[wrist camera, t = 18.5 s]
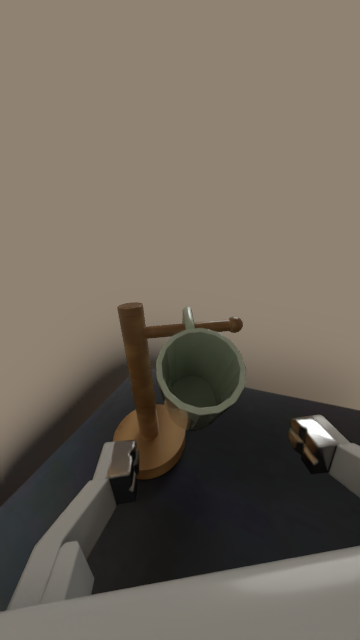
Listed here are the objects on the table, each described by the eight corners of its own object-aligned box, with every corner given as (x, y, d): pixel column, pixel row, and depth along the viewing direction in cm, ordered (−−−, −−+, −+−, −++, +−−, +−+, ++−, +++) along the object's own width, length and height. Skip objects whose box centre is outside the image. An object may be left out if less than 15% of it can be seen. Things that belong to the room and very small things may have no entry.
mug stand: (105, 485, 19) (57, 326, 13) (122, 415, 28) (97, 299, 22) (251, 464, 20) (267, 307, 14) (225, 403, 29) (228, 288, 23)
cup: (223, 427, 20) (259, 408, 11) (167, 434, 20) (158, 420, 11) (206, 345, 26) (220, 290, 17) (162, 349, 26) (153, 295, 17)
